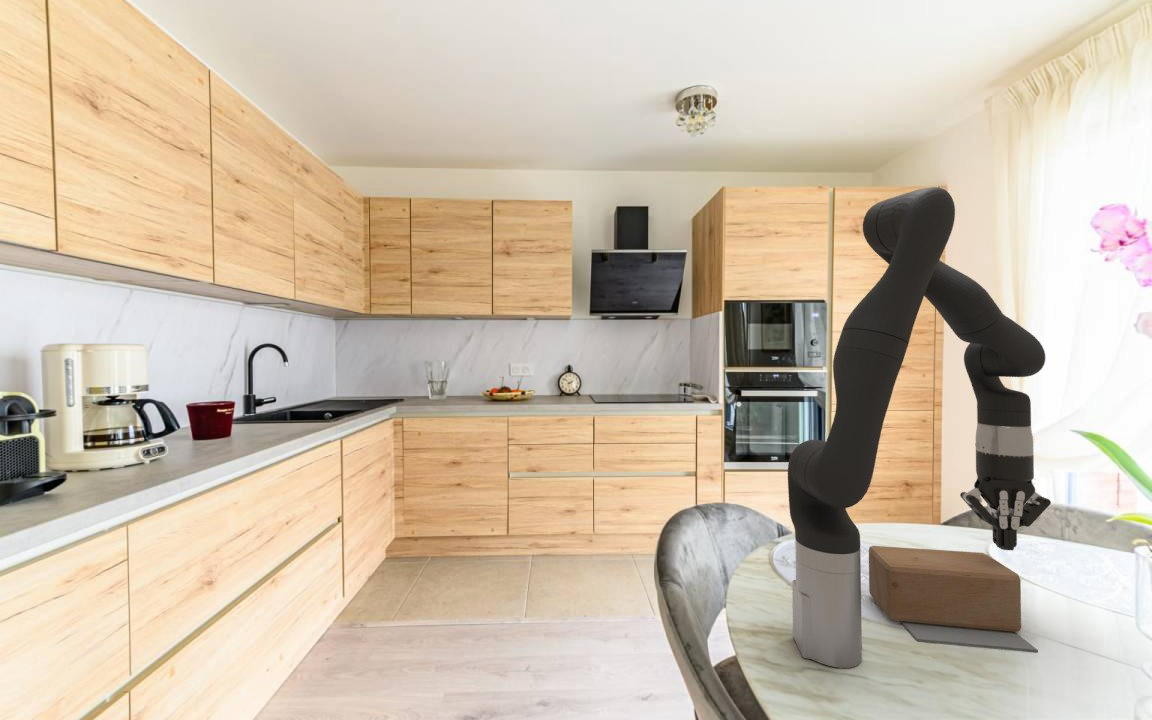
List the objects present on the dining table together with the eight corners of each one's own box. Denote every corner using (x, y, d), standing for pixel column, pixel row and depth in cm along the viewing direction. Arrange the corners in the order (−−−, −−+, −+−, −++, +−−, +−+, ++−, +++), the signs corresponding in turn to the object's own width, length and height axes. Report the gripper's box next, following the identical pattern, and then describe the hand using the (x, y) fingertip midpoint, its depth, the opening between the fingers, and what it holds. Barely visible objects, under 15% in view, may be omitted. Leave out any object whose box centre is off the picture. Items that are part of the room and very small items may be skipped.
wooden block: (1023, 575, 78) (888, 565, 82) (1024, 635, 78) (889, 622, 82) (985, 551, 88) (866, 543, 92) (986, 604, 88) (867, 594, 92)
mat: (917, 641, 77) (916, 638, 77) (870, 588, 95) (870, 586, 95) (1037, 652, 74) (1037, 649, 74) (966, 595, 92) (966, 593, 92)
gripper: (974, 453, 80) (975, 554, 80) (1065, 455, 78) (1067, 560, 77) (948, 445, 87) (949, 538, 87) (1031, 447, 85) (1032, 542, 85)
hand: (1004, 548), depth 82 cm, fingers closed
